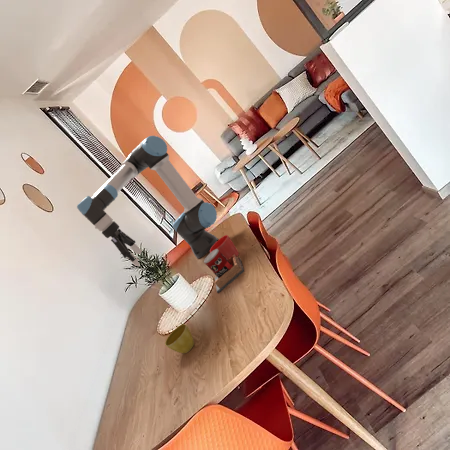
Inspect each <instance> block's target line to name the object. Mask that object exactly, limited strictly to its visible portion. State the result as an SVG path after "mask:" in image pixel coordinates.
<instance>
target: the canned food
mask: <svg viewBox="0 0 450 450" xmlns="http://www.w3.org/2000/svg"><path fill="white" fill-rule="evenodd" d="M203 263H204V264H205V265H206V266H207V268H209V269H210V270H211V271H212V273H213V272H214V273H215V274H216V275H217V277H218V278H220V277H221V276H222V275H223V274H224V273H225V272H227V271H228V270H229V269H230V268H231V267H233V265H232V264H231V263H230V262H229V261H228V260H227V259H226V257H225V256H224V255H223V254H222V253H221V252H220V251H219V250H218V249H215V250H213V251H212V252H211V253H210V252H209V254H208V255H207V256H206V257H205V258H204V261H203ZM214 273H213V274H214ZM215 274H214V275H215ZM216 275H215V276H216Z"/></svg>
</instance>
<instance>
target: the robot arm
mask: <svg viewBox="0 0 450 450" xmlns="http://www.w3.org/2000/svg"><path fill="white" fill-rule="evenodd" d="M148 168H149V169H150V170H151V171H155V173H157V175H158V176H159V178H160V179H161V180H162V181H163V182H164V184H165V186H167V189H169V190H170V192H171V193H172V194H173V196H174V197H175V199H176V200H177V201H178V202H179V203H180V205H181V206H182V207H183V208H184V210H183V212H181V214H180V215H179V216H178V217H177V218H176V219H175V221H174V222H173V223H172V229H174V231H175V232H176V233H177V234H178V235H179V237H181V238H182V239H183V240H184V241H185V243H187V244H188V245H189V247H190V248H191V251H192V253H193V254H194V256H195V257H196V259H200V258H202V257H204V256H205V255H207V254H208V253H210V249H211V247H212V246H213V245H214V244H215V243H216V242H217V240H219V239H218V238H217V236H216V235H214V234H212V233H210V232H208V231H207V230H206V229H208V228H210V227H211V226H212V225H214V224H215V223H216V221H217V218H218V217H217V215H218V214H217V210H216V208H215V206H214V205H213V204H212V203H211V202H205V201H204V199H203V198H199V197H197V195H196V194H195V192H194V191H193V190H192V188H191V187H190V186H189V185H188V183H187V182H186V180H184V178H183V177H182V175H181V174H180V172H178V171H177V169H176V167H175V165H173V164H172V163H171V161H170V154H169V153H168V145H167V143H166V141H165V140H164V139H163V138H161V137H160V136H157V135H149V136H147V137H146V138H144V139H143V140H142V141H141V142H140V143H139V144H138V145H136V147H134V149H133V150H132V151H130V153H129V154H128V156H127V157H126V158H125V160H124V161H123V162H122V163H121V165H120V168H119V169H117V171H116V172H115V173H114V174H113V175H111V177H110V178H108V180H106V182H105V183H103V185H102V186H101V187H100V188H99V189H98V190H97V191H96V192H95V193H93V195H92V196H90V195H87V196H86V197H84V198H83V199H82V200H81V201H80V202H79V203H78V204H77V206H76V209H78V211H79V212H80V213H81V214H82V216H83V217H85V218H86V219H87V220H88V221H89V222H90V223H91V224H92V225H93V226H94V228H95V229H96V230H98V231H99V232H101V234H102V235H103V236H104V237H105V238H106V239H110V238H111V240H110V241H111V242H112V243H113V245H114V246H115V247H116V248H117V249H118V251H119V252H120V254H121V255H122V256H123V258H124V259H126V258H127V259H128V260H129V259H130V260H129V261H130V262H131V263H132V264H133V265H134V266H135V267H136V266H138V267H140V266H141V265H140V264H139V262H138V260H139V259H138V257H136V255H137V254H141V252H142V251H143V250H142V249H141V248H140V247H139V246H138V245H137V243H136V240H134V239H133V238H132V237H130V236H129V235H128V234H126V233H125V232H124V231H123V230H121V229H120V226H119V224H118V223H117V222H116V221H113V218H112V217H111V216H110V215H109V214H108V213H107V212H106V211H105V210H106V209H107V207H109V206H110V205H111V204H112V203H113V202H114V201H116V199H117V198H118V195H119V192H120V191H121V190H123V188H124V187H126V186H127V184H128V183H129V182H130V181H131V180H132V179H133V178H137V176H138V175H140V174H141V173H142V172H143V171H145V170H146V169H148ZM127 246H129V247H130V249H131V250H132V251H133V252H134V253H135V254H136V255H135V254H133V253H132V252H131V251H130V250H129V247H127ZM134 258H136V259H134Z"/></svg>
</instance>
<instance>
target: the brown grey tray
mask: <svg viewBox="0 0 450 450" xmlns="http://www.w3.org/2000/svg"><path fill="white" fill-rule="evenodd" d="M228 261H229V262H230V263H231V264H232V265H233V267H231V268H230V269H229V270H228V271H227V272H225V273H224V274H223V275H222V276H221V277H220V278H218V277H217V275H216V274H215V273H214V272H213V271H212V273H213V274H214V276H215V277H214V282H213V283H214V284H215V289H216V293H218V294H220V293H221V292H222V291H223V290H224V289H225V288H227V287H228V286H229V285H230V284H231V283H233V282H234V281H235V280H236V279H237V278H238V277H239V276H241V275H242V274H243V273H244V272H245V269H244V265H243V263H242V259H241V257H236V256H235V255H232V256H231V257H230V258H229V259H228Z"/></svg>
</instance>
